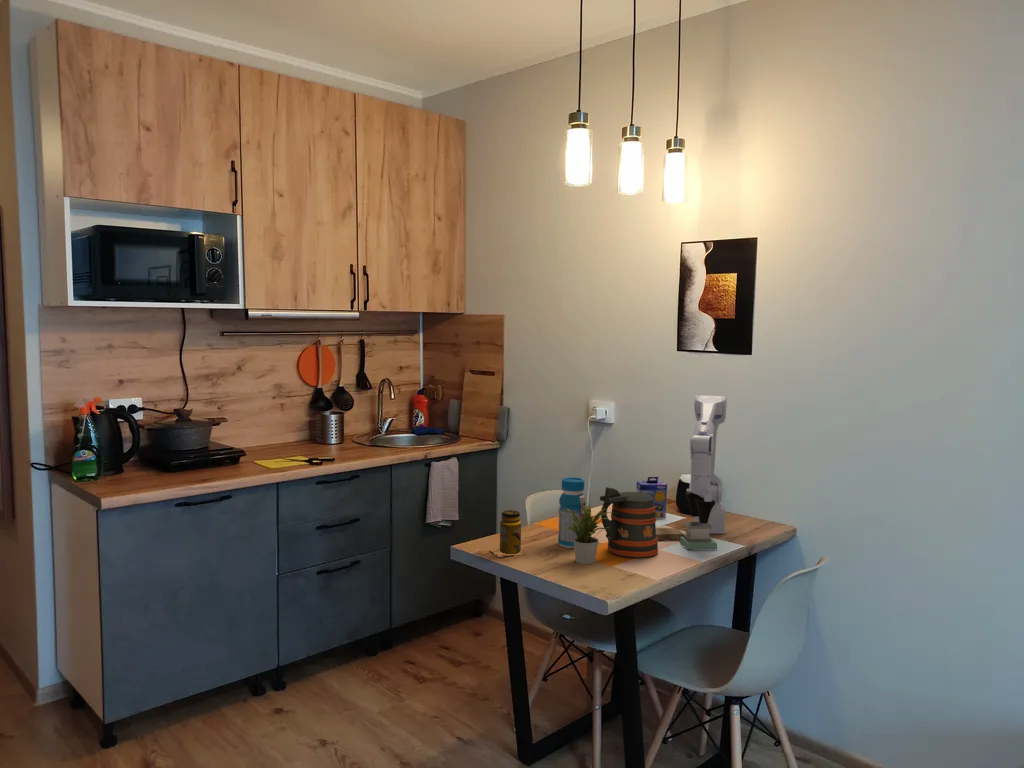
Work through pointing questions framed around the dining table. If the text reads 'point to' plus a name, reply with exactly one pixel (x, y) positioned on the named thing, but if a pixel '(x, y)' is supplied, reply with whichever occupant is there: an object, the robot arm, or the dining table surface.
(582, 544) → the house plant
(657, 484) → the ink cartridge box
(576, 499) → the beverage bottle
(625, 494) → the beer stein
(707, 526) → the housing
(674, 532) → the stand
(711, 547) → the stand
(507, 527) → the condiment
